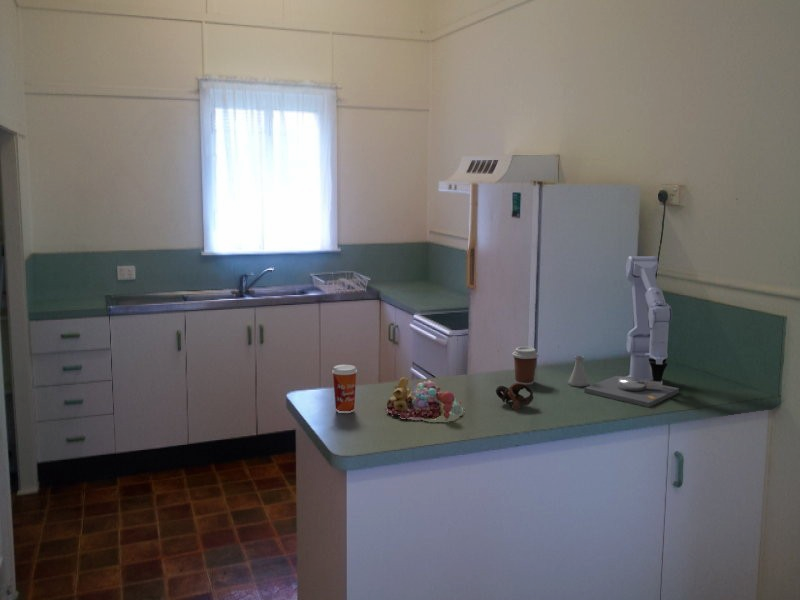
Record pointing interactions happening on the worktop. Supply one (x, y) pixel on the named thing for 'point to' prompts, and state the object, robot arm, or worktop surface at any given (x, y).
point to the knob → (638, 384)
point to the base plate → (630, 392)
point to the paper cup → (344, 386)
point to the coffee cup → (525, 364)
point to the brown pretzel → (515, 394)
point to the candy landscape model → (422, 401)
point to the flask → (578, 374)
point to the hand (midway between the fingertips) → (656, 381)
